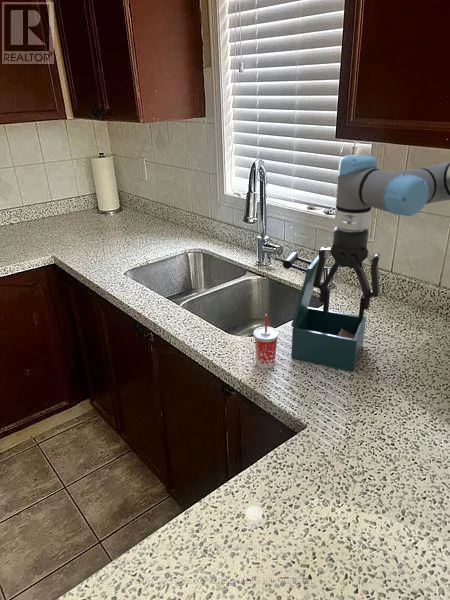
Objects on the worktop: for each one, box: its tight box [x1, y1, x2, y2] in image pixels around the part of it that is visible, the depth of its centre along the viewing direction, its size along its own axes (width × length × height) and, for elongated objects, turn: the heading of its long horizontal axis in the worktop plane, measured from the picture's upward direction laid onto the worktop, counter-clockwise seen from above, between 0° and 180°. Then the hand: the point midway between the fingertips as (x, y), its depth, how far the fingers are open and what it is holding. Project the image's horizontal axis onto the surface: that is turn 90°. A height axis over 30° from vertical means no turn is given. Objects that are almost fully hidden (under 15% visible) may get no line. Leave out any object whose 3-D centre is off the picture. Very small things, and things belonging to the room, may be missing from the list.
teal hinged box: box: [290, 306, 367, 373], centre depth 114 cm, size 16×13×9 cm
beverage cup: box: [253, 313, 280, 370], centre depth 109 cm, size 6×6×14 cm
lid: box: [282, 251, 319, 328], centre depth 112 cm, size 16×13×8 cm
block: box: [338, 329, 355, 339], centre depth 113 cm, size 4×4×4 cm
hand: (342, 316), depth 110 cm, fingers open, 8 cm apart
